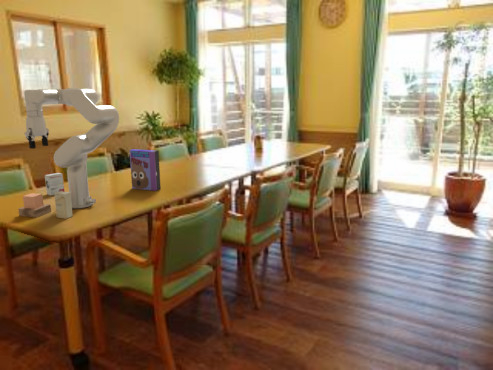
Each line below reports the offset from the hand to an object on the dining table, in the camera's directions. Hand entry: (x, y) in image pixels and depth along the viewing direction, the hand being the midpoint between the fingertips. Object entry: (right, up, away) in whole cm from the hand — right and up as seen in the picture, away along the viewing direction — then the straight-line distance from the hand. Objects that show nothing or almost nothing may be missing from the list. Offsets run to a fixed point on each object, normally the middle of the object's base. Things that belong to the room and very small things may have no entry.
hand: (39, 147), depth 214 cm
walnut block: (+4, -35, -12) cm, 37 cm away
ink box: (-3, -25, +26) cm, 36 cm away
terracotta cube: (+4, -31, -13) cm, 34 cm away
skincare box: (+22, -36, -18) cm, 45 cm away
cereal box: (+48, -23, +36) cm, 64 cm away
